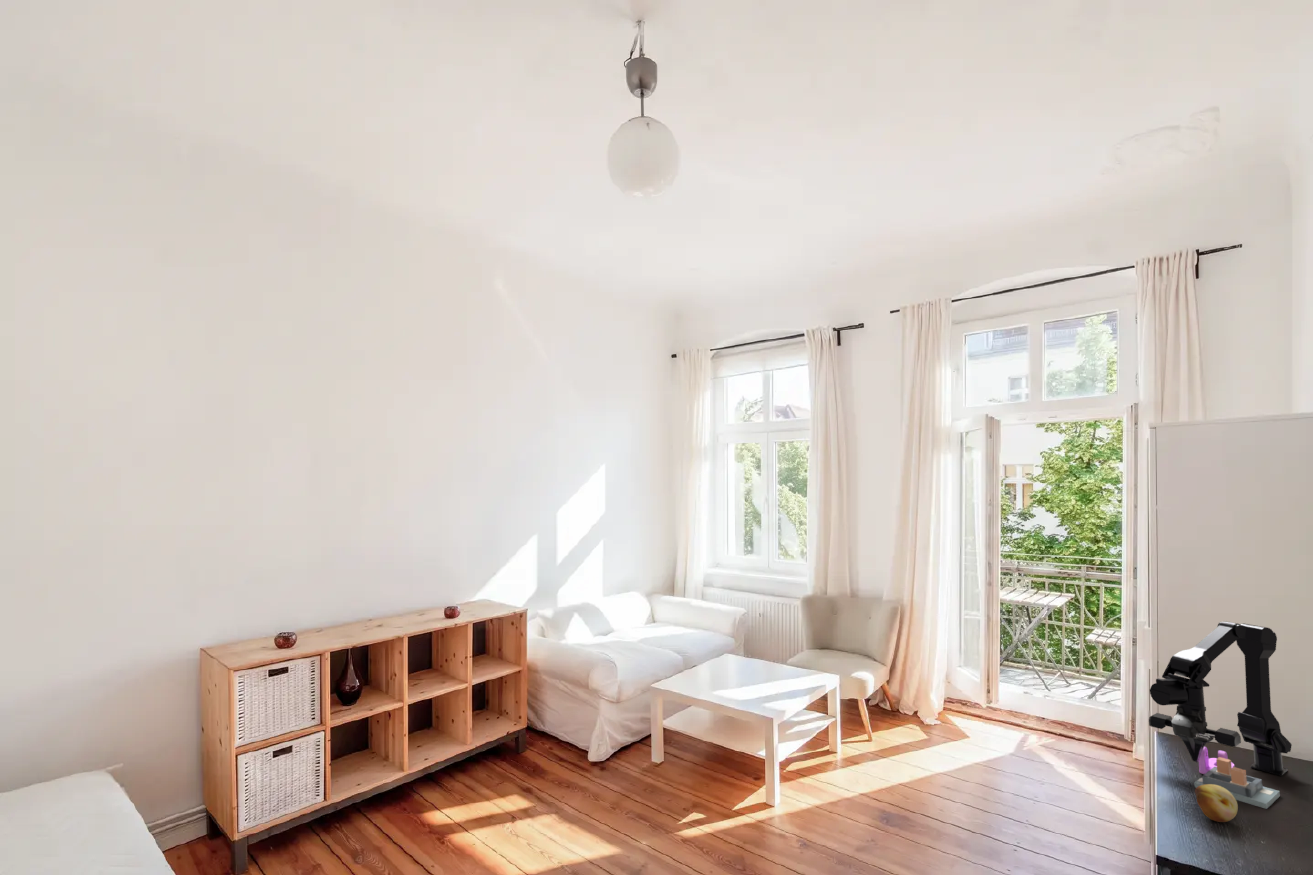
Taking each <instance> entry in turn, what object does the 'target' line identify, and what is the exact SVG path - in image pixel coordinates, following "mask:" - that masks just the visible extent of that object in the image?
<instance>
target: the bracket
mask: <svg viewBox="0 0 1313 875" xmlns="http://www.w3.org/2000/svg"><path fill="white" fill-rule="evenodd" d="M1219 757H1221V758H1225V759H1229V758H1228V753H1227V751H1224V750H1221V749H1220V750H1217V757H1209V751H1208V748H1207V746H1204V748H1203V750H1202V753H1201V755H1200V758H1199V760H1198V770H1199V771H1198V772H1199V774H1203V775H1204V774H1205V773H1207V772H1208V771H1209V770H1211V769H1212V768H1214V767H1217V761H1216V759H1217V758H1219ZM1231 767H1232V768H1233V767H1236V766H1235V764H1234V762H1232V761H1231Z"/></svg>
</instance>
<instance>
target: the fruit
mask: <svg viewBox="0 0 1313 875" xmlns="http://www.w3.org/2000/svg"><path fill="white" fill-rule="evenodd" d="M1194 794H1195V796H1196V802H1197V804H1198V807H1199V808H1200V810H1201V812H1202V813H1203V814H1204V815H1205V816H1206V817H1207V818H1209V820H1211V821H1214V822H1218V823H1226V822H1230V821H1232V820H1233V819H1234V818H1236V816H1237V814H1238V808H1239V806H1238V800H1236V799H1235V798H1234V796H1233V795H1232V794H1231V793H1230V792H1229V791H1228V790H1227V789H1225V788H1223V787H1221V786H1219V785H1214V784H1205V785H1201V786H1198V787H1197V788H1195V789H1194Z"/></svg>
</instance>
